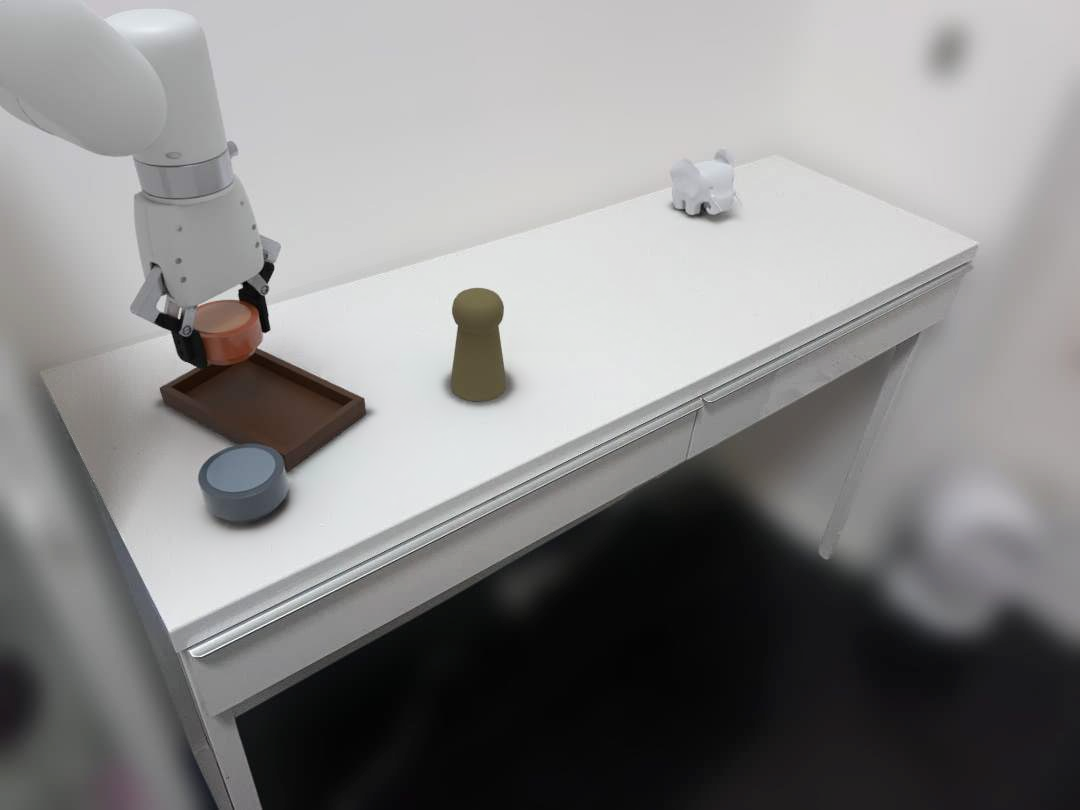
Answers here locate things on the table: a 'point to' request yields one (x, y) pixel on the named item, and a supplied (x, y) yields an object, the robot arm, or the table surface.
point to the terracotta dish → (228, 330)
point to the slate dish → (243, 482)
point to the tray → (266, 404)
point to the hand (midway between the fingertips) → (227, 344)
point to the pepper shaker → (478, 346)
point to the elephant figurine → (704, 184)
